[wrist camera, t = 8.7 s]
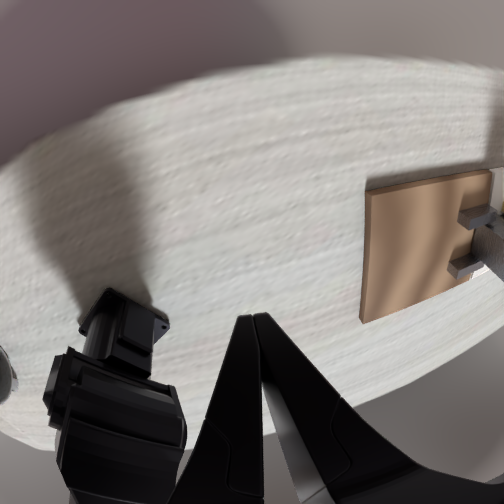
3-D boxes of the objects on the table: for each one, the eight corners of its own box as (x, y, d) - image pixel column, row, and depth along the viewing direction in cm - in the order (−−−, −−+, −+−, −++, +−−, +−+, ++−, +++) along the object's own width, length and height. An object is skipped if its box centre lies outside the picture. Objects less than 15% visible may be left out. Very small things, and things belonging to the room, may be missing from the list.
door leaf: (359, 317, 29) (363, 324, 28) (365, 191, 21) (371, 196, 21) (464, 275, 30) (469, 279, 29) (485, 169, 22) (492, 172, 22)
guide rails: (446, 270, 27) (456, 280, 26) (458, 211, 23) (470, 219, 22) (473, 258, 27) (483, 267, 26) (486, 203, 23) (497, 210, 22)
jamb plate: (467, 274, 30) (471, 278, 29) (488, 169, 22) (495, 172, 22) (502, 256, 31) (507, 260, 30) (523, 164, 23) (528, 167, 22)
